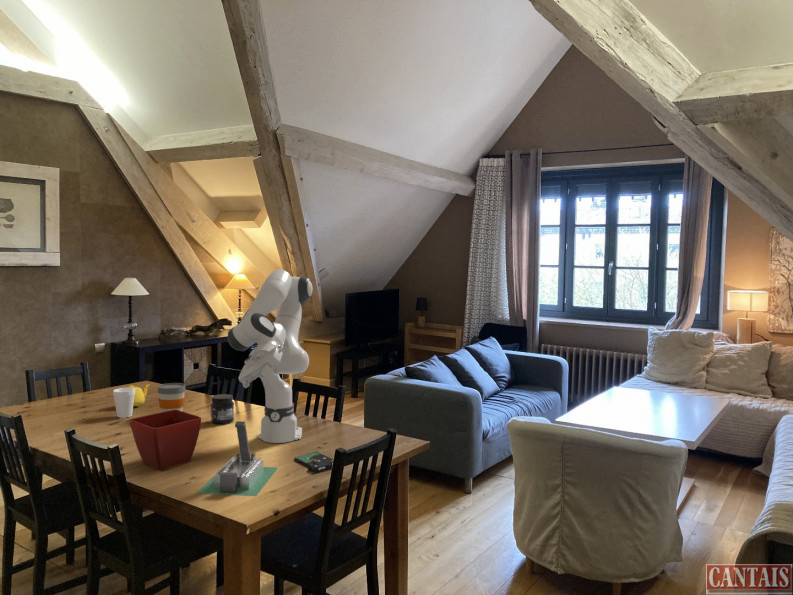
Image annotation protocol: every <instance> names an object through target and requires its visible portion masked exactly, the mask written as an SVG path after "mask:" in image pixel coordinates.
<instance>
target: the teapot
mask: <svg viewBox="0 0 793 595" xmlns="http://www.w3.org/2000/svg"><path fill="white" fill-rule="evenodd" d="M150 385H151V384H150V383H149V384H146V385H145V386H144V388H143V389H142V388H141V387H138V386H135V385H128V388H134V389H135V395H134V403H133V407H136V408H141V407H140V406H142V405H144V403H145V401H146V400H145V398H146V397H147V394H148V388H149V386H150Z"/></svg>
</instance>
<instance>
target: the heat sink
mask: <svg viewBox="0 0 793 595" xmlns="http://www.w3.org/2000/svg"><path fill="white" fill-rule="evenodd" d="M250 458H251V461H241V454H240V451H238V452H237V453H236V457H235V456H232V457H231V458H230V459H229V460H228V461H227V462H226V463H224V464H223V466H221V467H220V469H218V470H217V472H216V473H215V474H214V475H213V476H214V488H220V493H236V492H237V489H250V488H251V487H252V485H253V484H254V483H255V482H256V481H257V479H258V478H259V477H260V476H261V475H262V473H263V472H264V468H263V467H264V461H263V460H262V457H259V458H257V457H256V452H251V453H250Z"/></svg>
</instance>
